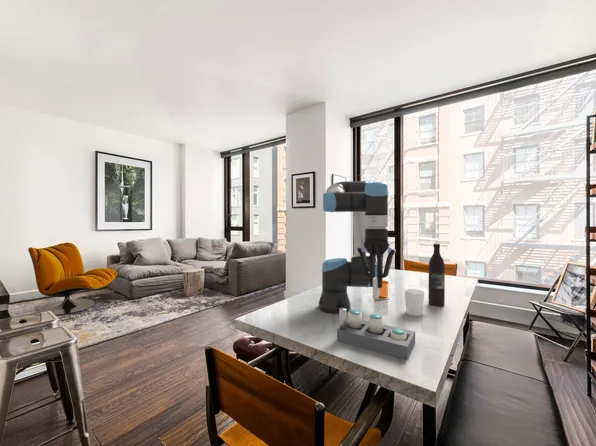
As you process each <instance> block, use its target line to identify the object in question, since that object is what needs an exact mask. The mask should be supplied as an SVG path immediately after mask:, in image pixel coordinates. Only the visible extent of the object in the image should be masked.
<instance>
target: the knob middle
mask: <svg viewBox="0 0 596 446" xmlns="http://www.w3.org/2000/svg"><path fill="white" fill-rule="evenodd" d="M368 321H369V331H370V332H372V333H382V332H383V325H384V316H383V315H381V314H379V313H372V314H369V315H368Z"/></svg>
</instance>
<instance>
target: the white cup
mask: <svg viewBox="0 0 596 446" xmlns="http://www.w3.org/2000/svg"><path fill="white" fill-rule="evenodd" d="M424 299H425V292H424V290H421V289H416V288H406V289H404V300H405V301H404V302H405V313H406V314H407V315H410V316H413V317H414V316H415V317H418V316H419V317H420V316H422V315H423V311H424Z"/></svg>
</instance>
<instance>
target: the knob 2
mask: <svg viewBox="0 0 596 446" xmlns="http://www.w3.org/2000/svg"><path fill="white" fill-rule="evenodd" d="M397 328H398V327H397ZM397 328H396V329H392V330H391V338H394V339H399V340H403V341H406V332H405V331H404V330H402V329H403V328H402V329H397Z"/></svg>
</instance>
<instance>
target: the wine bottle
mask: <svg viewBox="0 0 596 446" xmlns="http://www.w3.org/2000/svg"><path fill="white" fill-rule="evenodd" d="M440 248H441V245H440V243H433V253H432V255H431V256H430V259H429V261H428V304H429V305H431V306H433V307H438V308H439V307H444V306H445V298H446V297H445V295H446V292H445V291H446V287H445V286H446V285H445V284H446V283H445V282H446V280H445V279H446V277H445V276H446V271H445V270H446V265H445V261H444V258H443V257H442V255H441V253H440V251H441V249H440Z"/></svg>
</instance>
